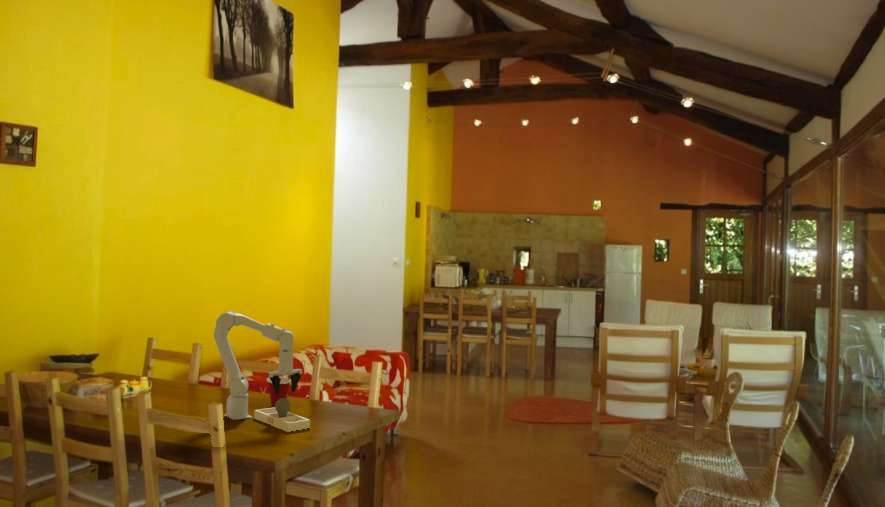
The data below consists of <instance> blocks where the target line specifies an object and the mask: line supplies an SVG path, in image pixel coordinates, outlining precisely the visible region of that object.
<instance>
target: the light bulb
mask: <svg viewBox="0 0 885 507" xmlns="http://www.w3.org/2000/svg"><path fill="white" fill-rule="evenodd" d="M275 408H276V411H277V412H278V416H279V418H282V417H286V416H287V412H290V411H289V410H290V409H291V403H290V401H289V399H287V398H286V399H285V398H281V399H279V400H278V401H277V402H276V404H275Z"/></svg>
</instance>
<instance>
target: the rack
mask: <svg viewBox="0 0 885 507" xmlns="http://www.w3.org/2000/svg"><path fill="white" fill-rule="evenodd" d="M253 416H254V420H257V421H259V422H262V423H265V424H266V423H267V425H269V424H270V426H272V427H274V428H277V429H279V430H281V429H282V431H284V432H286V433H292V432H291V431H293V432H297V431H296V430H299V431H303V430H302V429H305V430H308V429H307V428H310V427H311V426H310V424H311V420H310V419H309V418H306V417H303V416H301V415H298V414H295V413H292V412H290V411H288V412H287V416H286V417H282V418H279V416H278V412H277V411H276V408H275V407H268V408H260V409H255V410H254V415H253ZM310 429H311V428H310Z"/></svg>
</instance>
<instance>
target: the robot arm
mask: <svg viewBox="0 0 885 507" xmlns="http://www.w3.org/2000/svg"><path fill="white" fill-rule="evenodd" d="M239 326H245V327H248V328H250V329H253V330H255V331H258V332H261V334H262V336H263V337H265V338H267V339H270V340H272V341H274V342H278V343H279V350H278V351H279V352H278V353H279V356H278V370H274V371H269V372H268V378H270V379H271V381H272V384H273V386H274V390H275V394H279V386H280V381H281V378H279V377H283V376H289V377H290V379H291V382H290V391H291V392H292V393H296V390H297V386H298V384H299V381H300V380H301V378H302V375H303V369H301V368H295V369H293V368H294V341H295V340H294V339H295V335H294V333H293V332H292V331H290V329H289V330H288V329H287V330H286V328H285V327H282V328H281V327H279V326H276V325H275V323H273V322H272V323H270V322H268V323H266V324H264V323H261V322H259V321H258V320H255V319H253V318H250V317H248V316H246V315H244V314H242V313H240V312H239V313H238V312H234V311H232V310H228V311H226V312H223V313H221V314H220V315H219V316H218V317H217V320H215V327H214V332H213V338H214V341H215V343H216V346H217V349H218V352H219V354H220V357H221V360H222V362H223V365H224V367H225V370H226V373H227V375H228V383H229V392H230V395H229V396H228V397H227V399H226V407H225V408H226V411H225V413H226V414H223V415H224V417H226V416H227V417H226V418H228V417H229V419H230V420H232V421H237V420H244V419H251V418H252V417H253V416H252V415H250V414H249V393H248V392H247V391H248V390H249V387H250V384H249V381H248V380H247V378H245V375H244V374H243V372H242V371H241V369H240V367H239V365H238V362H237V358H236V356H235V353H234V350H233V348H232V346H231V343H230V340H229V337H228V334H229V333H230V331H231V329H232V328H233V327H239Z"/></svg>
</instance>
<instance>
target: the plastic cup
mask: <svg viewBox="0 0 885 507" xmlns="http://www.w3.org/2000/svg"><path fill="white" fill-rule="evenodd" d="M278 377H279V378H281V381H280V386H279V394H275V390H274V386H273V384H272V381H271V379H270V377H267V378H266V382H267V386H268V390H269V391H268V392H269V399H270V404H271V408H273V407H275V404H276V402H277V401H278V400H279V399H281V398H285V399H287V398H288V393H289V392H288V391H289V387H290V386H291V378H287V377H283V376H278Z"/></svg>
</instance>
